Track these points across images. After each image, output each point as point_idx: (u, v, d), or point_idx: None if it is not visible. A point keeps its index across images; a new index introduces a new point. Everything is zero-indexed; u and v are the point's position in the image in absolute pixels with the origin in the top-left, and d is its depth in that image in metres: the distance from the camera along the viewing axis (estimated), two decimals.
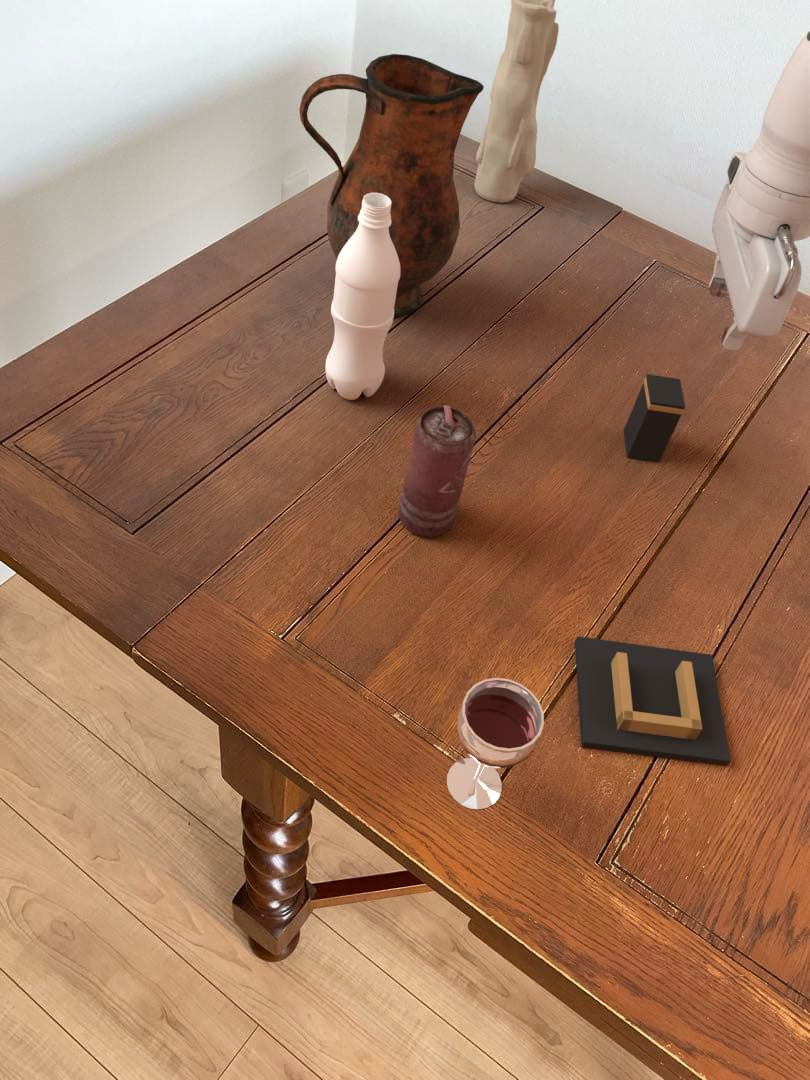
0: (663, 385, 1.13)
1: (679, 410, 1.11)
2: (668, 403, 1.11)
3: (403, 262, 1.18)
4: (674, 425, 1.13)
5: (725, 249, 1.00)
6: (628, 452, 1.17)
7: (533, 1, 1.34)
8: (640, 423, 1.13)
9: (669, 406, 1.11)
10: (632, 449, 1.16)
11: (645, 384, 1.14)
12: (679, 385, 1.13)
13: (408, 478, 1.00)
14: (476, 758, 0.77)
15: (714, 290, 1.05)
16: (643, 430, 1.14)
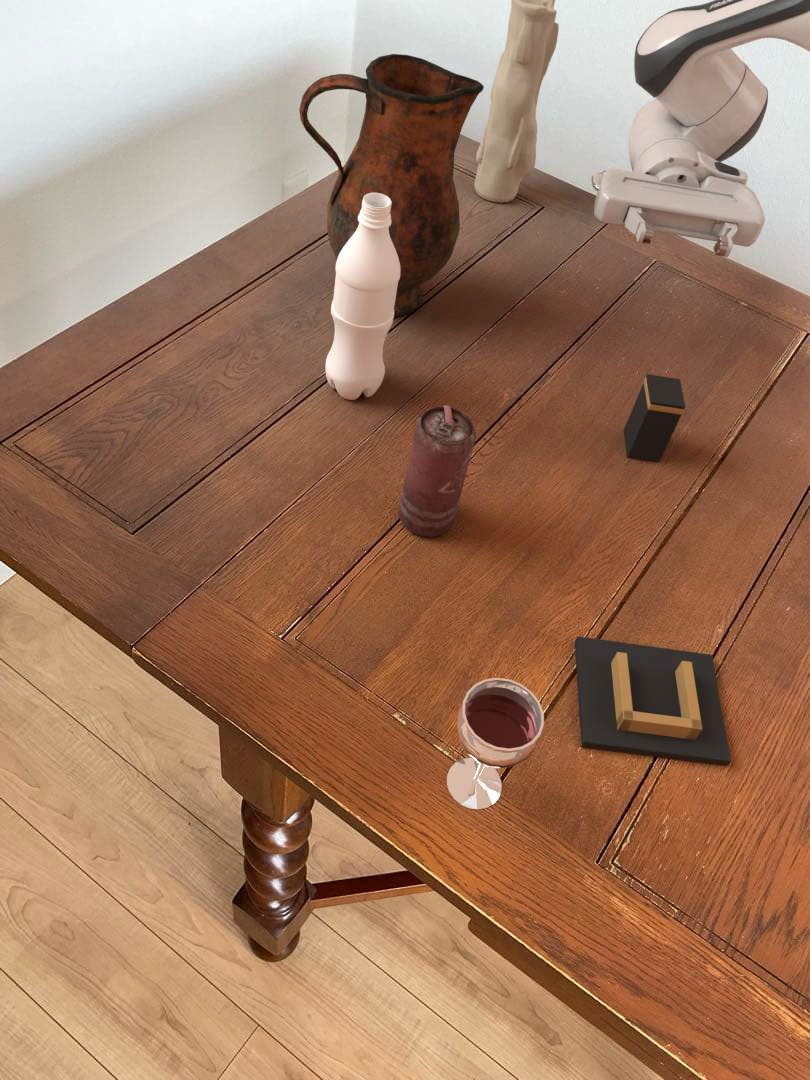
0: (663, 385, 1.13)
1: (679, 410, 1.11)
2: (668, 403, 1.11)
3: (403, 262, 1.18)
4: (674, 425, 1.13)
5: None
6: (628, 452, 1.17)
7: (533, 1, 1.34)
8: (640, 423, 1.13)
9: (669, 406, 1.11)
10: (632, 449, 1.16)
11: (645, 384, 1.14)
12: (679, 385, 1.13)
13: (408, 478, 1.00)
14: (476, 758, 0.77)
15: (716, 250, 1.14)
16: (643, 430, 1.14)
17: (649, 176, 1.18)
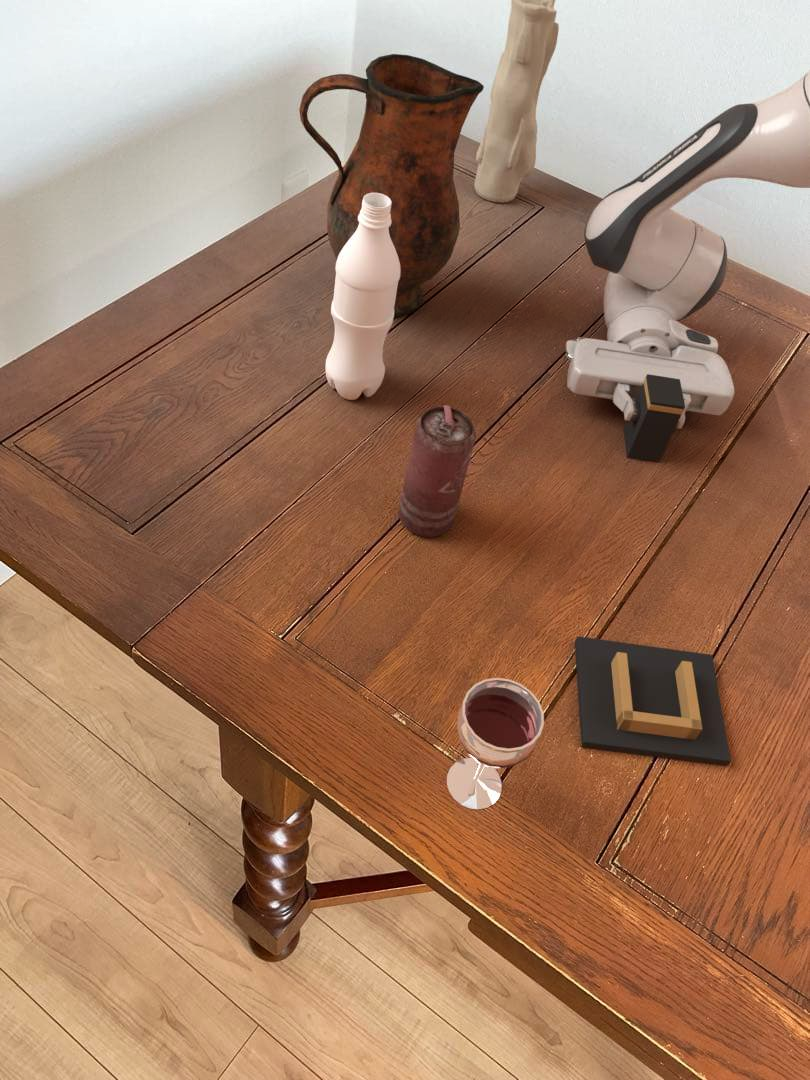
0: (663, 385, 1.13)
1: (679, 410, 1.11)
2: (668, 403, 1.11)
3: (403, 262, 1.18)
4: (674, 425, 1.13)
5: None
6: (628, 452, 1.17)
7: (533, 1, 1.34)
8: (640, 423, 1.13)
9: (669, 406, 1.11)
10: (632, 449, 1.16)
11: (645, 384, 1.14)
12: (679, 385, 1.13)
13: (408, 478, 1.00)
14: (476, 758, 0.77)
15: None
16: (643, 430, 1.14)
17: (621, 345, 1.20)
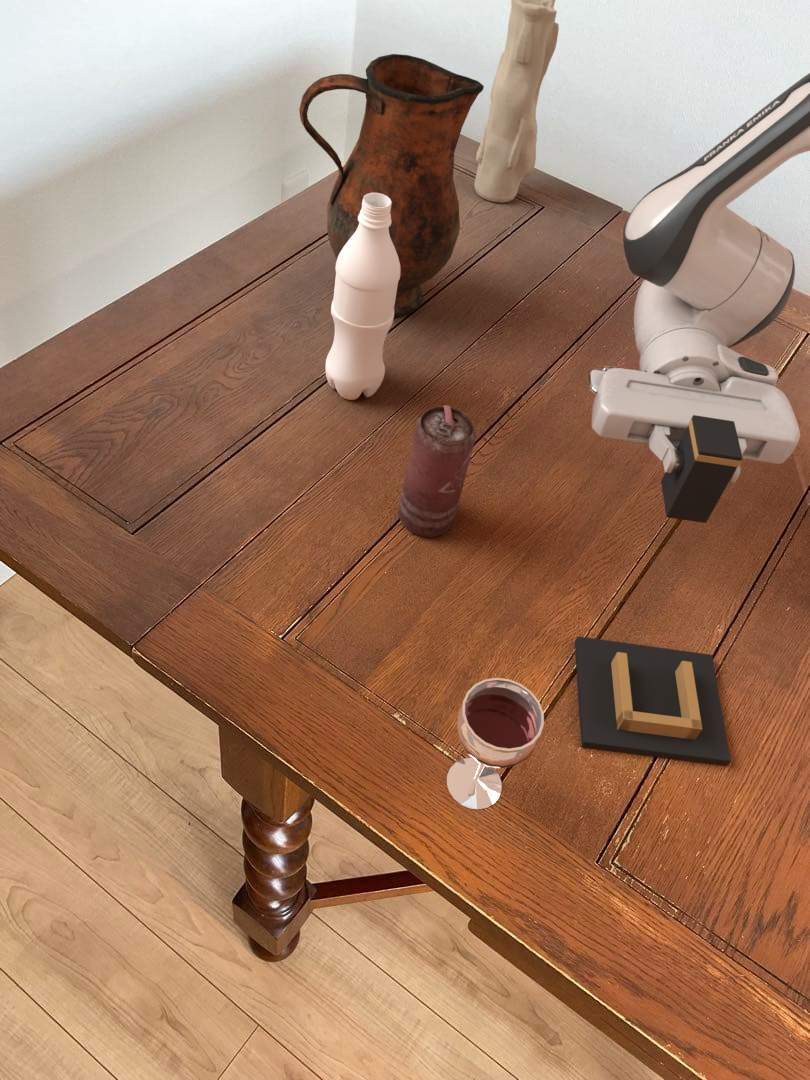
0: (714, 429, 0.90)
1: (734, 461, 0.88)
2: (721, 453, 0.88)
3: (403, 262, 1.18)
4: (727, 479, 0.90)
5: None
6: (668, 511, 0.94)
7: (533, 1, 1.34)
8: (684, 476, 0.91)
9: (722, 457, 0.88)
10: (673, 507, 0.93)
11: (690, 427, 0.91)
12: (733, 429, 0.90)
13: (408, 478, 1.00)
14: (476, 758, 0.77)
15: None
16: (688, 485, 0.91)
17: (659, 377, 0.97)
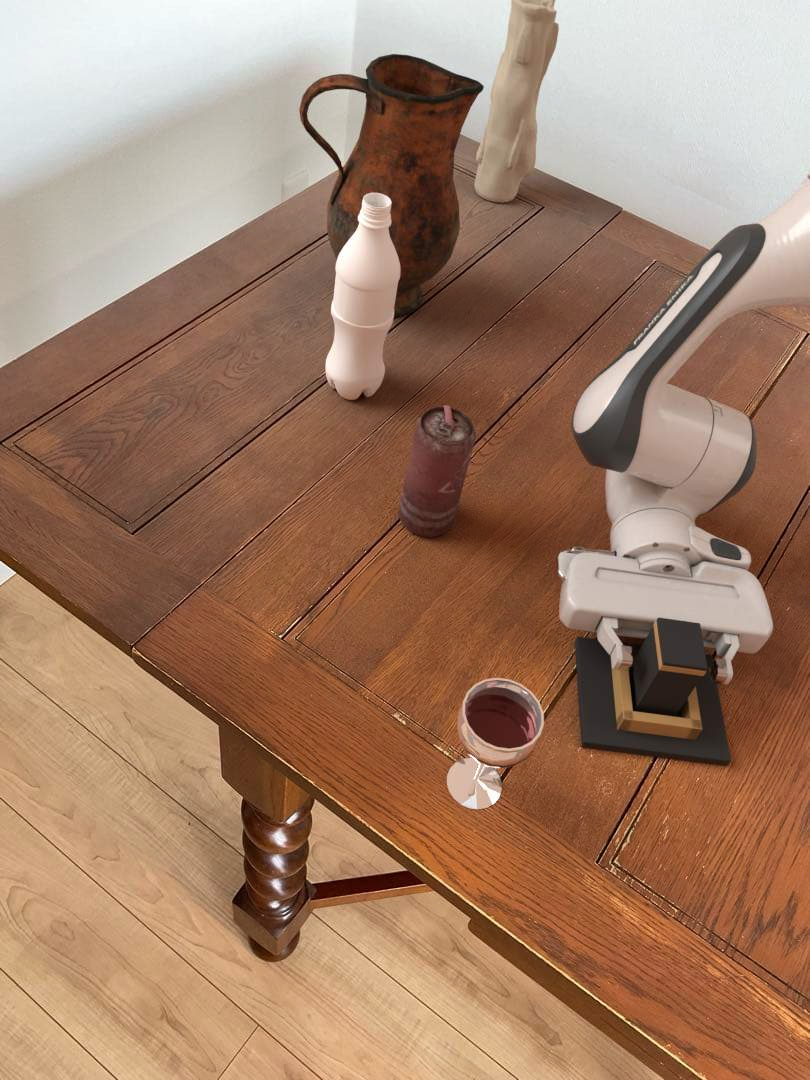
0: (679, 634, 0.87)
1: (699, 671, 0.86)
2: (686, 664, 0.85)
3: (403, 262, 1.18)
4: (693, 686, 0.87)
5: None
6: (633, 709, 0.91)
7: (533, 1, 1.34)
8: (649, 681, 0.88)
9: (687, 667, 0.85)
10: (639, 707, 0.91)
11: (655, 629, 0.88)
12: (699, 633, 0.88)
13: (408, 478, 1.00)
14: (476, 758, 0.77)
15: (712, 676, 0.90)
16: (652, 689, 0.88)
17: (628, 562, 0.95)
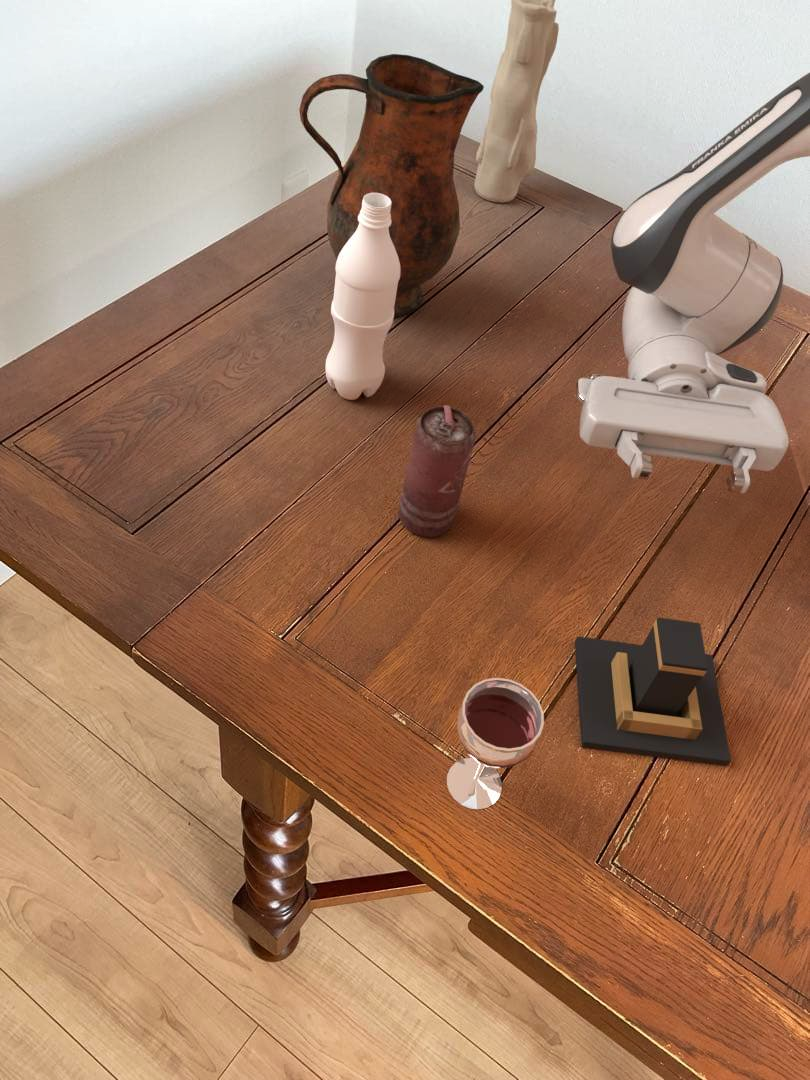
0: (679, 634, 0.87)
1: (699, 671, 0.86)
2: (686, 664, 0.85)
3: (403, 262, 1.18)
4: (693, 686, 0.87)
5: None
6: (633, 709, 0.91)
7: (533, 1, 1.34)
8: (649, 681, 0.88)
9: (687, 667, 0.85)
10: (639, 707, 0.91)
11: (655, 629, 0.88)
12: (699, 633, 0.88)
13: (408, 478, 1.00)
14: (476, 758, 0.77)
15: (729, 485, 0.92)
16: (652, 689, 0.88)
17: (646, 385, 0.97)
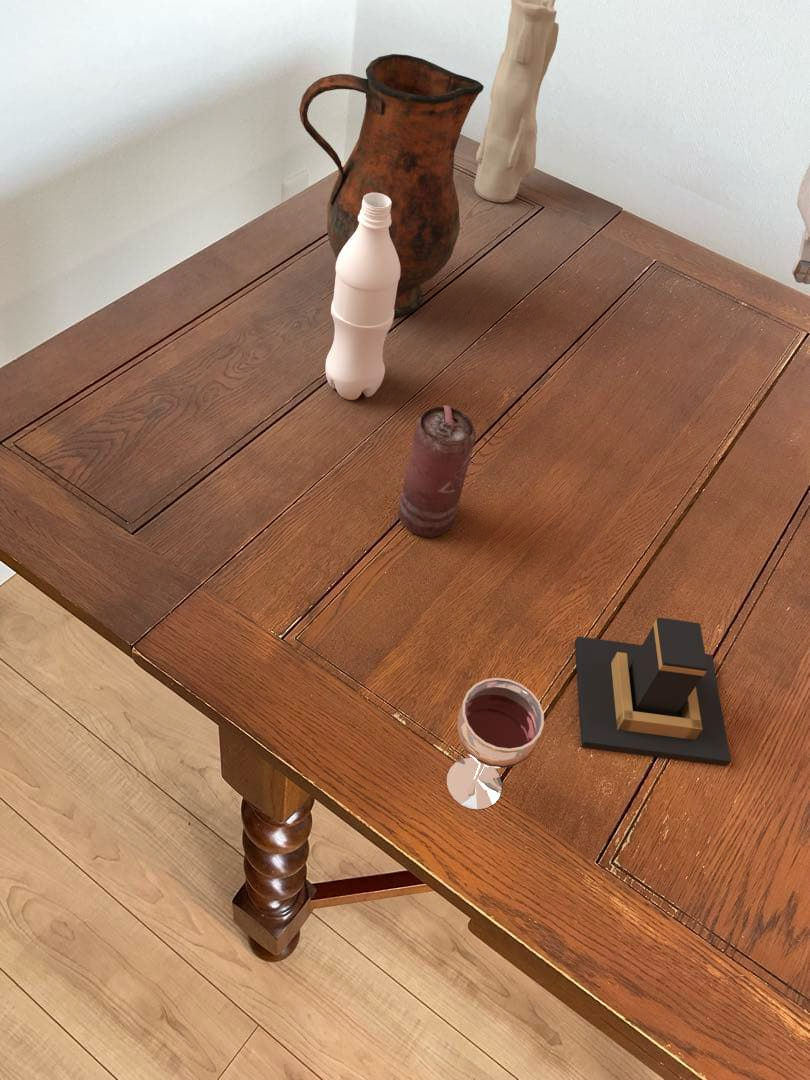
0: (679, 634, 0.87)
1: (699, 671, 0.86)
2: (686, 664, 0.85)
3: (403, 262, 1.18)
4: (693, 686, 0.87)
5: None
6: (633, 709, 0.91)
7: (533, 1, 1.34)
8: (649, 681, 0.88)
9: (687, 667, 0.85)
10: (639, 707, 0.91)
11: (655, 629, 0.88)
12: (699, 633, 0.88)
13: (408, 478, 1.00)
14: (476, 758, 0.77)
15: (800, 275, 0.89)
16: (652, 689, 0.88)
17: None
